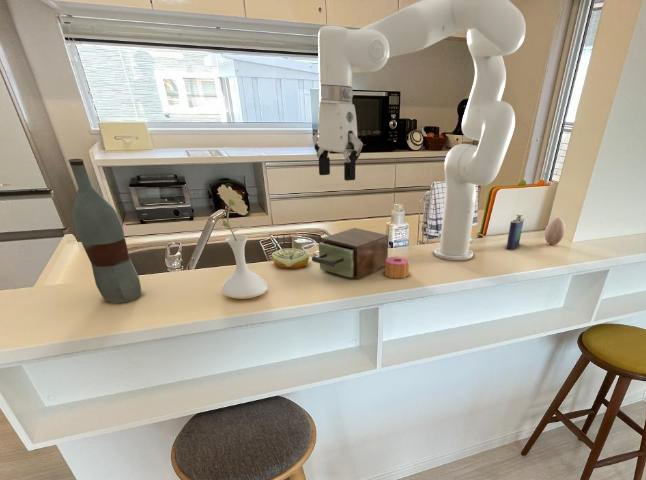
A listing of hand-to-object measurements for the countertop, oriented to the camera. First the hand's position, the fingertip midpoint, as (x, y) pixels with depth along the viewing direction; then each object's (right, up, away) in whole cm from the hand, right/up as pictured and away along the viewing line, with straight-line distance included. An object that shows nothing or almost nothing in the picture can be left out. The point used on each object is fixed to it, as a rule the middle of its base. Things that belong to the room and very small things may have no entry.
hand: (336, 177), depth 106 cm
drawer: (+1, -20, +14) cm, 24 cm away
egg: (+72, -3, +44) cm, 85 cm away
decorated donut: (-16, -17, +19) cm, 30 cm away
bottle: (-52, -31, -4) cm, 61 cm away
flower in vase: (-23, -30, 0) cm, 38 cm away
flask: (+57, -5, +40) cm, 70 cm away
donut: (+16, -21, +14) cm, 30 cm away
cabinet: (+4, -18, +18) cm, 26 cm away
